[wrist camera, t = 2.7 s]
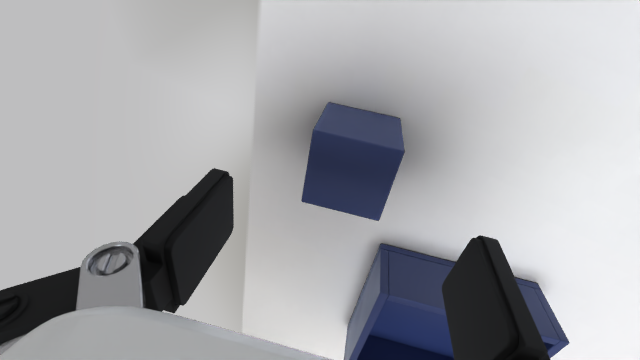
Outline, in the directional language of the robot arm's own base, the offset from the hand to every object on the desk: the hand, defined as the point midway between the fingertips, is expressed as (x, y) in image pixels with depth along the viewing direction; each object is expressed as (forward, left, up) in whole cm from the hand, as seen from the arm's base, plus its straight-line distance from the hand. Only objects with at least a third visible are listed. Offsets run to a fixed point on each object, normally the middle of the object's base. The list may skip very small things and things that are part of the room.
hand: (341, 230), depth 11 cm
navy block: (0, 0, -9) cm, 9 cm away
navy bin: (+10, -14, -9) cm, 19 cm away
